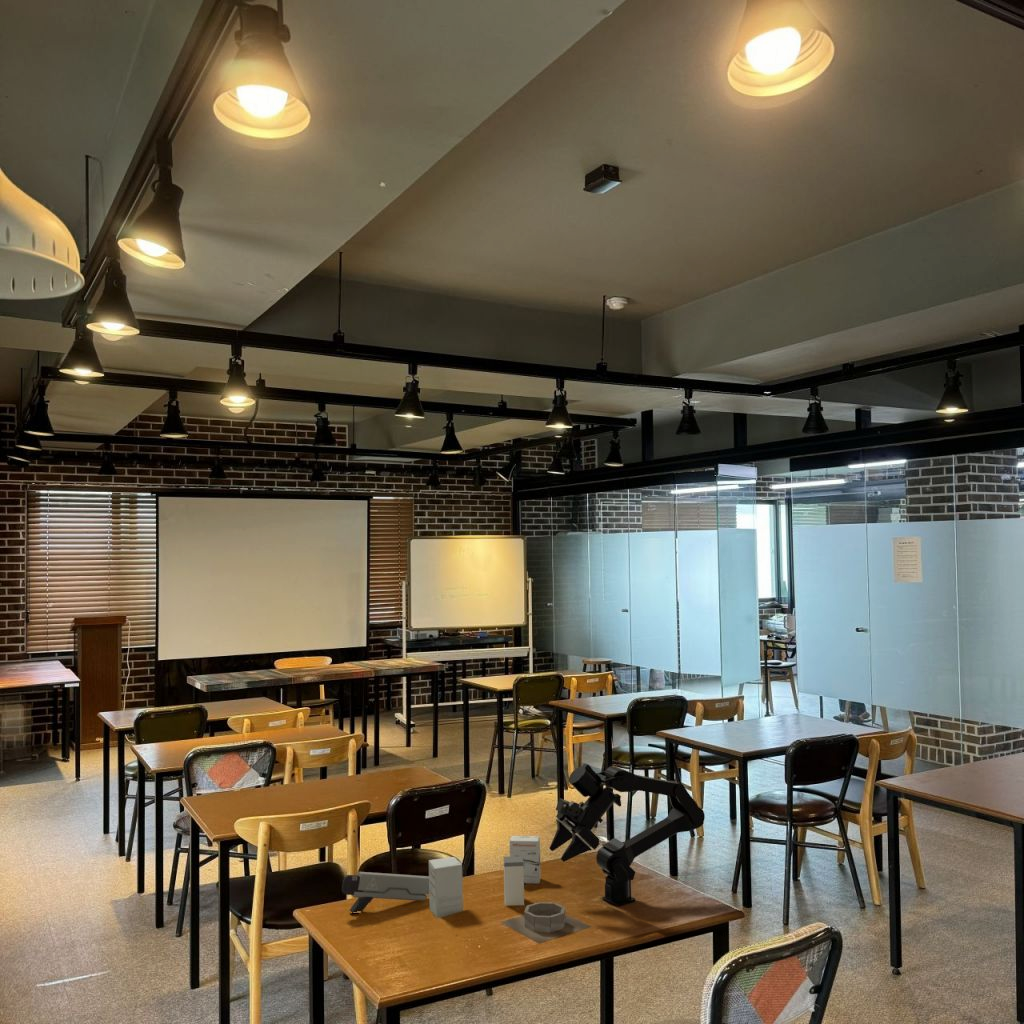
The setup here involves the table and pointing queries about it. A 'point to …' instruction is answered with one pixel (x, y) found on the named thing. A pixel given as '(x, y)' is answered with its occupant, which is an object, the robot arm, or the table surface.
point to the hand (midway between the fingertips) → (556, 855)
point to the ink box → (527, 856)
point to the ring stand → (544, 922)
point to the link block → (513, 881)
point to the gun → (384, 887)
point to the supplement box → (445, 886)
